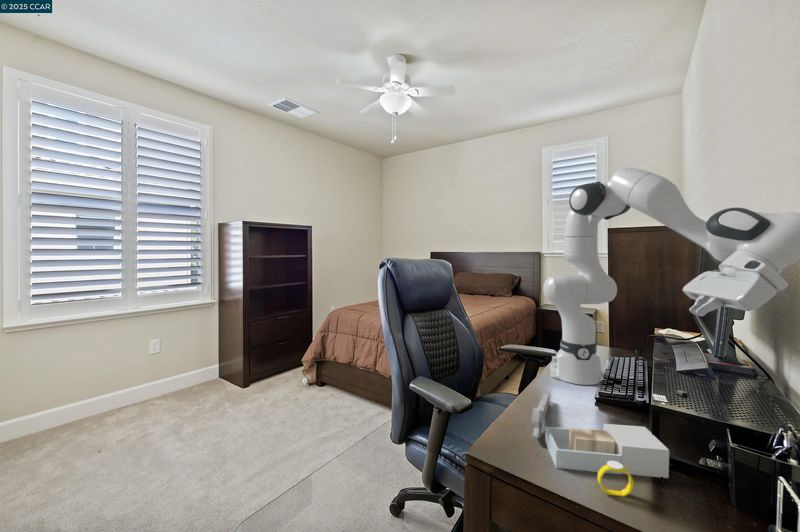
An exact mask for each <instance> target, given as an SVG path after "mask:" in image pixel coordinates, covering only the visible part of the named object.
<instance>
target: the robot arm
mask: <svg viewBox="0 0 800 532" xmlns="http://www.w3.org/2000/svg"><path fill="white" fill-rule="evenodd" d="M568 203H569V208H570V210H569V211H568V212H567V215H566V218H565V223H564V232H563V237H564V238H563V257H564V259H565V260H566V261H567V262H568V263H569V264H570V265H574V266H575V267H576V269H577V273H578V274H558V275H552V276H549V277H547V278H546V280H545V281H544V283H543V286H542V291H543V292H542V293H543V295H544V297H545V299H546V300H547V301H548V302H550V303H551V304H552V305H553V306H554V308H556V310H557V311H558V313H559V316H560V319H561V330H562V331H561V333H562V335H561V337H562V338H561V339H560V343H559V344H560V346H559V350H558V351H557V353H555V355H552V356H551V362H552V363H550V364H549V369H550V371H549V373H550V377H551V378H552V379H553V378H554V379H557V380H561V381H563V382H565V383H566V382H567V383H571V384H575V385H584V386H594V385H598V384H599V383H601V382H602V381H601V379H602V376H603V375H602V361H601V360H602V359H601V357H600V356H599V355H598V354H597V353H598V351H597V349H598V346H597V342H596V334H597V333H596V329H597V327H596V326H597V325H596V321H595V320H594V318H592V317H591V316H590V315H588V314H586V313H584V312H583V310H582V308H581V306H582V305H600V304H605V303H610V302H612V301H613V300H614V299H615V298H616V296H617V293H618V286H617V283H616V281H615V280H614V279H613V278H612V277H611V276H610V275H608V274H607V273H606V271H605V270H604V269H603V267H602V265H601V263H600V259H599V251H598V246H599V245H598V238H599V237H598V234H599V233H598V232H599V229H598V228H599V223H600V221H601V220H602V219H604V220H605V221H606V220H607V221H609V220H610V219H612V218H615V217H618V216H621V215H623V214H625V213H627V212H628V211H629V210H630V209H631V208H633V209H635V211H638V212H640V213H642V214H643V215H646V216H647V217H650V218H652V219H653V220H654V221H656V222H658V223H660V224H662V225H663V226H665V227H667V228H668V229H670V230H671V231H673V232H674V233H676V234H678V235H679V236H681V237H683V238H684V239H686V240H688V241H689V242H690V243H692V244H694V245H696V246H698V247H699V248H700V249H702V250H703V251H704V252H705V253H707V254H708V255H709V256H710V258H711V259H712V261H713V262H714V263H715V264H716V265H717V266H718V269H714V270H712V271H711V270H707V271H705V272H702V273H700V274H699V275H698V276H696V277H695V278H693V279H692V280H691V281H689V282H688V283H687V284H685V285H684V286H683V288H682V292H683V293H684V294H685V295H686V296H687V297H688V298H689V299H690V300H691V299H692V300H695V302H694V304H693V305H692V306H691V307H689V309H688V310H689V312H690V313H691V314H692V315H696V316H699V317H704V316H706V314H708V313H710V312H712V311H713V312H714V311H715V310H717V309H720V308H721V307H726V308H732V309H737V310H739V311H741V310H742V311H745V312H751V311H754V310H757V309H759V308H760V307H762V306H763V305H765V304H766V303H767V302H768V301H770V300H771V299H772V298H774V297H775V296H776V295H777V293H778V292H781V291H783V290H785V289H787V287H789V283H788V282H787V281H786V280H785V279H784V278H783V277H782V275H780V274H781V272H782V271H783V269H784V268H786V267H787V266H789V265H792V264H794V263H796V262H797V261H798V260H799V259H800V212H797V211H784V212H777V213H772V212H771V213H770V212H759V211H753V210H750V209H748V208H745V207H728V208H724V209H721V210H720V211H719V210H718V211H717V212H715V213H714V214H713V215H711V216H710V217H708V219H707V221H706V220H703V218H700V217H698V216H697V215H696V214H695V213H694V212H693V211H692V210H691V209H690V208H689V206H688V204H687V203H686V201H685V200H684V198H683V195H682V194H681V191H680V189H679V187H678V186H677V185H676V184H675V183H673V181H670V180H669V179H668V178H665V177H664V176H661V175H659V174H658V173H657V174H656V173H653V172H651V171H647V170H644V169H639V168H634V167H623V168H621V169H618V170H617V171H616V172H614V173H613V174H612V176H611V177H610V179H609V180H608V181H606V182H604V183H602V182H601V181H594V182H590V183H589V182H588V183H585V184H580V185H578V186H576V187H575V188H574V189H573V190H572V192H571V193H570V196H569V202H568ZM600 381H601V382H600Z"/></svg>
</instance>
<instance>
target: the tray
mask: <svg viewBox="0 0 800 532" xmlns="http://www.w3.org/2000/svg"><path fill="white" fill-rule="evenodd" d="M569 428H570V427H555V426H544V436H545V437H544V443H545V445H546V447H547V450H548V452H549V456H550V458H551V460H552V462H553V464H554V466H555V469H565V470H574V471H583V472H591V473H592V472H593V473H598V471H599V470H600V469H601V467H603V466H605V465H607V462H608V461H616V462H619V463H621V455H620V454H610V453H599V452H588V451H577V450H570V449H569ZM605 474H614V475H622V474H621V472H614V471H612V470H609V471H607V472H605Z"/></svg>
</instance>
